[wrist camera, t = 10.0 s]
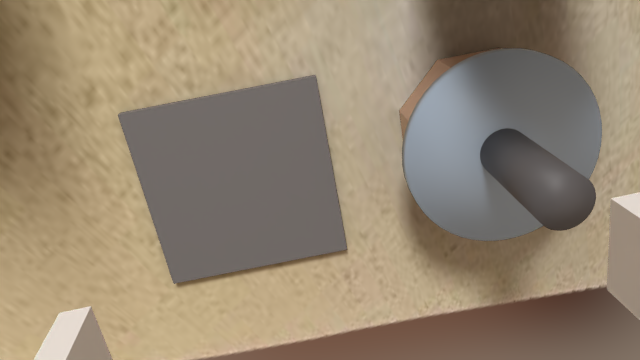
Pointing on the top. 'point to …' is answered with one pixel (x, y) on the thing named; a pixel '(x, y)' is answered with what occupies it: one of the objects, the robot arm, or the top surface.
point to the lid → (504, 146)
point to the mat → (237, 178)
